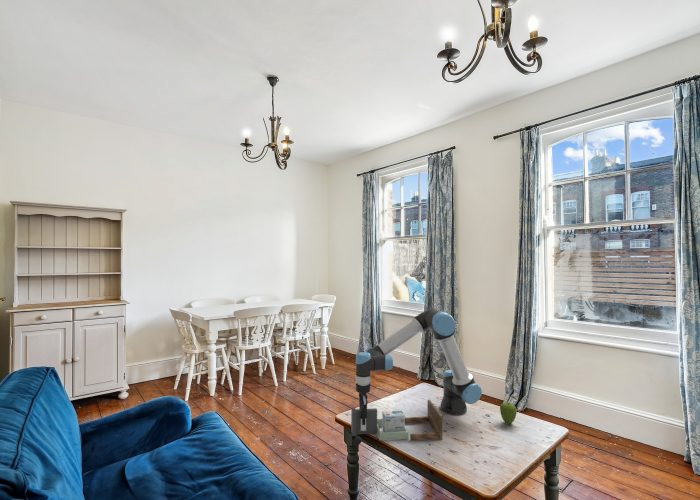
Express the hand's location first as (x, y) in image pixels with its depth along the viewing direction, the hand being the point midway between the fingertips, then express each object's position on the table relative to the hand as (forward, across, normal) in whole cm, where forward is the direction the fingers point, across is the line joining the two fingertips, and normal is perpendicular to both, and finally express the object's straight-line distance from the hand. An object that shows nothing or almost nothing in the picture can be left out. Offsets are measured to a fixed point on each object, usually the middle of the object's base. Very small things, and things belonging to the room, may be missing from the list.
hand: (362, 428), depth 186 cm
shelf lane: (+2, 0, +31) cm, 31 cm away
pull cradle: (+2, 0, +8) cm, 8 cm away
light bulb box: (+3, +1, +16) cm, 16 cm away
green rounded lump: (+3, -3, +81) cm, 81 cm away
